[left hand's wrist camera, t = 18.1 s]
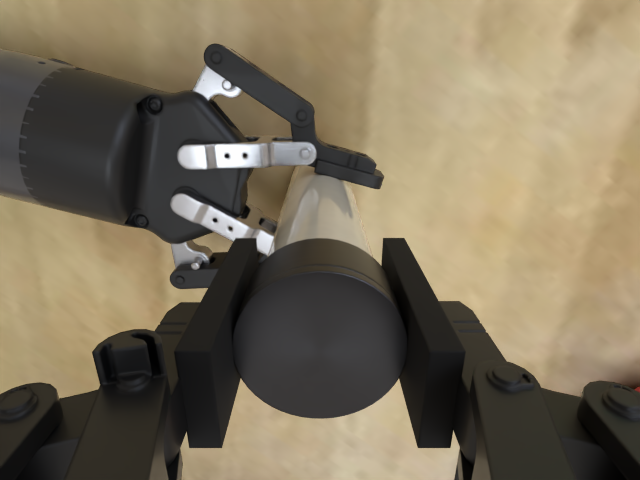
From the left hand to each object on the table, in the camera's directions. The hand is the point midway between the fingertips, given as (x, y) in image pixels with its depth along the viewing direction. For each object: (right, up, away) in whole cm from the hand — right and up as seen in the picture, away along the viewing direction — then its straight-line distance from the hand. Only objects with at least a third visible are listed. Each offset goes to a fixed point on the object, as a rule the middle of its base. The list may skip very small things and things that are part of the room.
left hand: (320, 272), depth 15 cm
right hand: (+3, +2, +8) cm, 9 cm away
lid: (0, -2, -4) cm, 4 cm away
